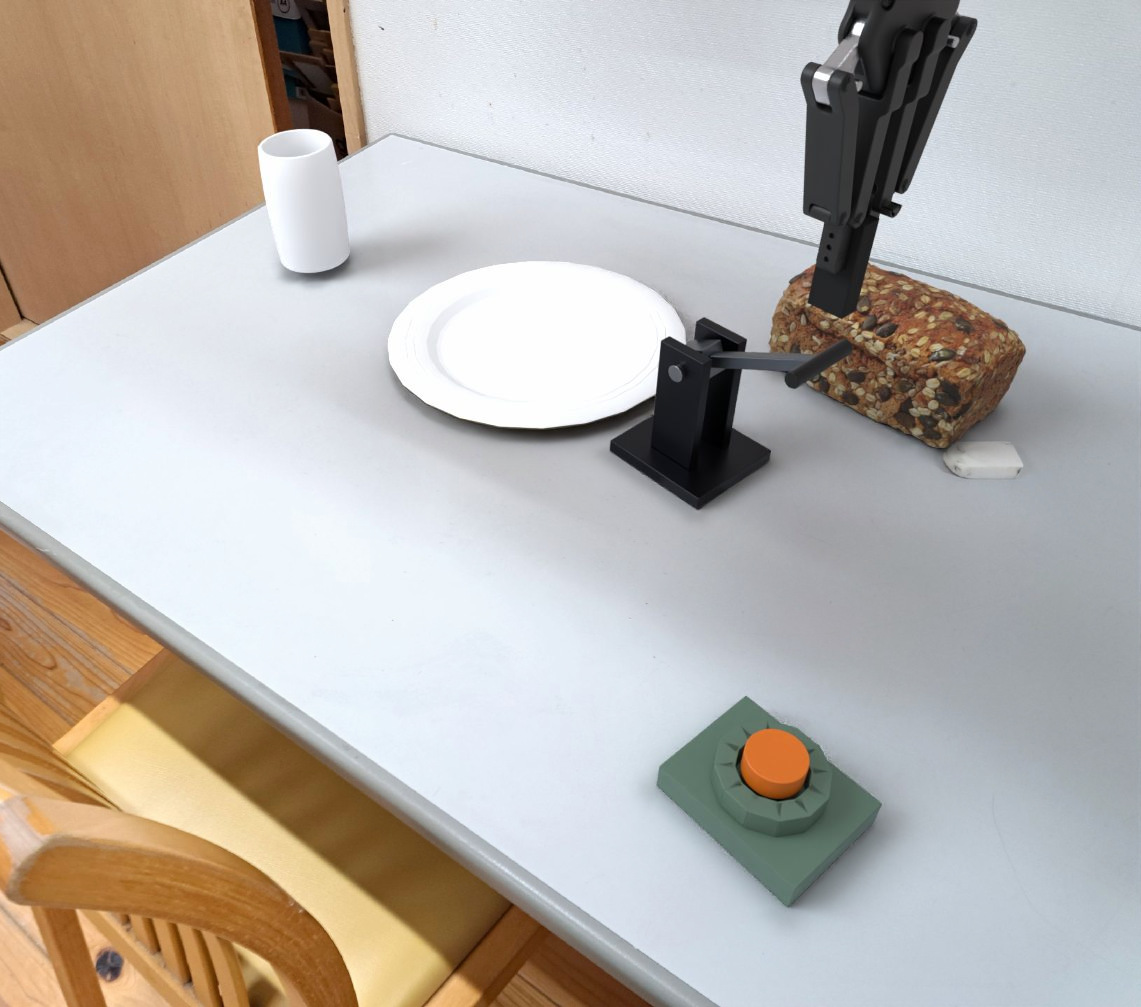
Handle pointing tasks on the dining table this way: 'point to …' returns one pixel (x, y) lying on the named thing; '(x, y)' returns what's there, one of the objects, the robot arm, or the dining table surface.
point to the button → (774, 763)
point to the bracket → (693, 423)
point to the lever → (773, 360)
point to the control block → (767, 804)
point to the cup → (304, 199)
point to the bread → (905, 353)
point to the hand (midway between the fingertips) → (831, 306)
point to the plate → (533, 344)
